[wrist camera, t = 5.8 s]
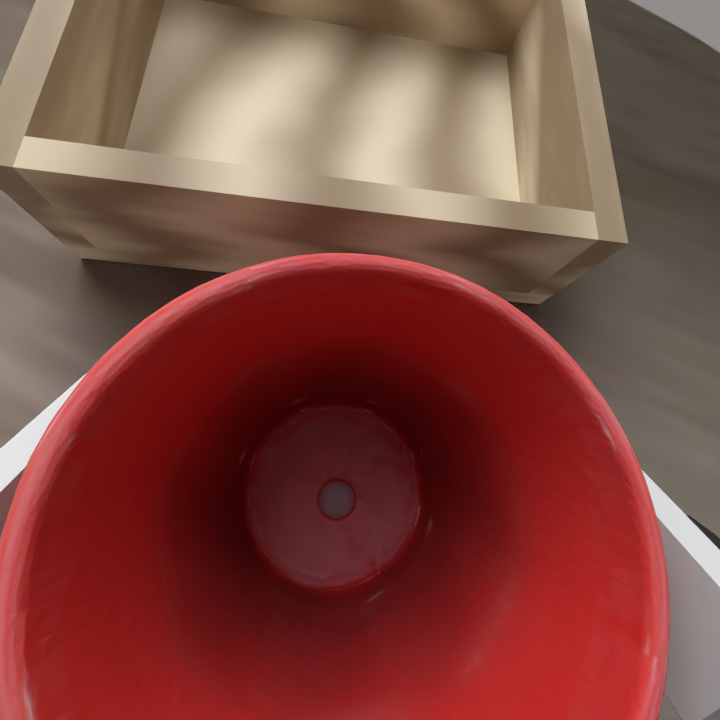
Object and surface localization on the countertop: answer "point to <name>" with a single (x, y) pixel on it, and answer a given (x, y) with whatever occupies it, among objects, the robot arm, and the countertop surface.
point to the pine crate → (316, 135)
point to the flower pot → (334, 516)
